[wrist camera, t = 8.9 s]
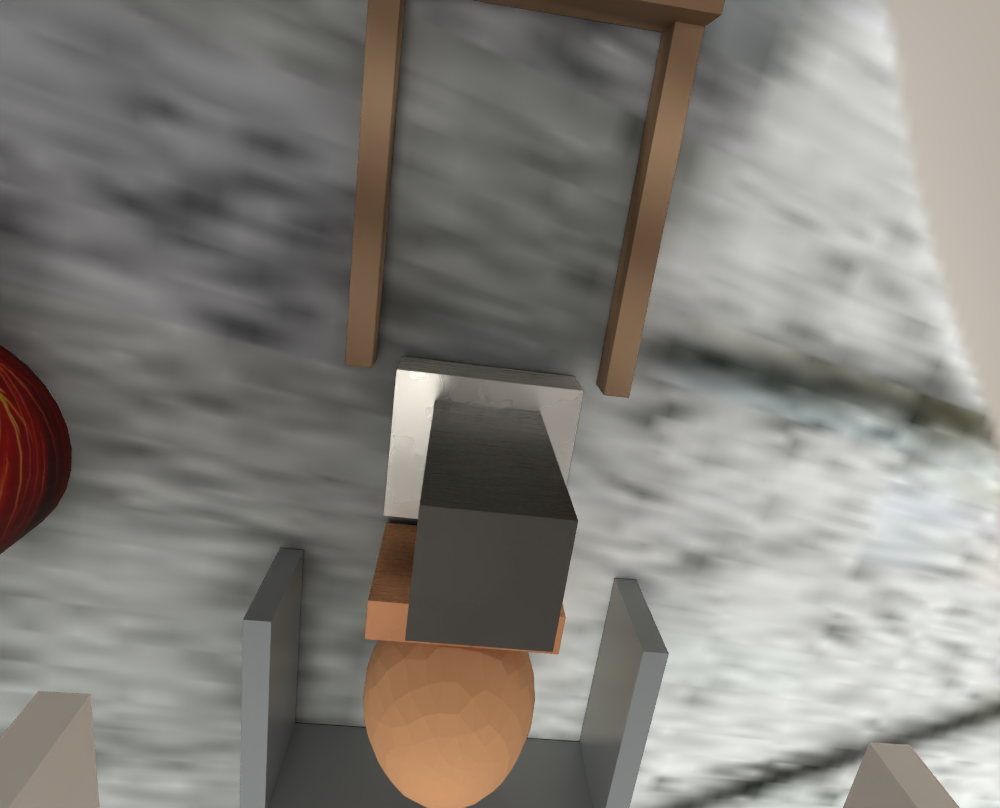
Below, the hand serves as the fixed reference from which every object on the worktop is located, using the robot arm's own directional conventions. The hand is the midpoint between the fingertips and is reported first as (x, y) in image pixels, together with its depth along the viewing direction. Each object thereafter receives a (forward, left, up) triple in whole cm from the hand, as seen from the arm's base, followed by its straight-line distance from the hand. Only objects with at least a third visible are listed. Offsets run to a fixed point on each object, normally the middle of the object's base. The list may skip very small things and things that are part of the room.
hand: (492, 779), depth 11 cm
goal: (+11, 0, -17) cm, 20 cm away
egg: (+9, 0, -17) cm, 19 cm away
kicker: (+2, 0, -17) cm, 17 cm away
